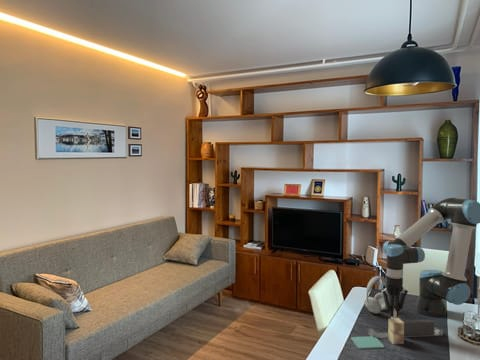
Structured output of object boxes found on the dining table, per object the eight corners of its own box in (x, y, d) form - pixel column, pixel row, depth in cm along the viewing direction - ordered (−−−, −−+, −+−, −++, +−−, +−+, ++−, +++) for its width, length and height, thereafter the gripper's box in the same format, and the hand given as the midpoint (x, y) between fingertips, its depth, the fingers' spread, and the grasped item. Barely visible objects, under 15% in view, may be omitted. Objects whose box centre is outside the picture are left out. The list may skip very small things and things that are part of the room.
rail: (437, 331, 187) (437, 326, 187) (443, 335, 182) (443, 330, 182) (368, 333, 184) (368, 328, 184) (372, 338, 180) (372, 333, 180)
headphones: (374, 318, 201) (374, 282, 200) (359, 313, 209) (360, 277, 207) (393, 310, 212) (394, 275, 211) (379, 305, 220) (380, 271, 218)
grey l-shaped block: (423, 325, 192) (423, 314, 191) (433, 334, 183) (433, 322, 182) (392, 327, 190) (392, 315, 190) (401, 335, 181) (401, 323, 181)
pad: (375, 337, 180) (375, 336, 180) (384, 347, 171) (384, 346, 171) (350, 338, 180) (350, 337, 180) (358, 349, 170) (358, 347, 170)
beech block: (398, 338, 179) (398, 318, 179) (403, 343, 174) (404, 322, 174) (388, 339, 179) (388, 318, 178) (393, 344, 174) (393, 323, 173)
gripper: (403, 273, 191) (402, 319, 192) (378, 274, 190) (377, 320, 191) (411, 278, 183) (410, 325, 184) (385, 279, 182) (384, 326, 184)
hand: (393, 322), depth 188 cm, fingers closed
